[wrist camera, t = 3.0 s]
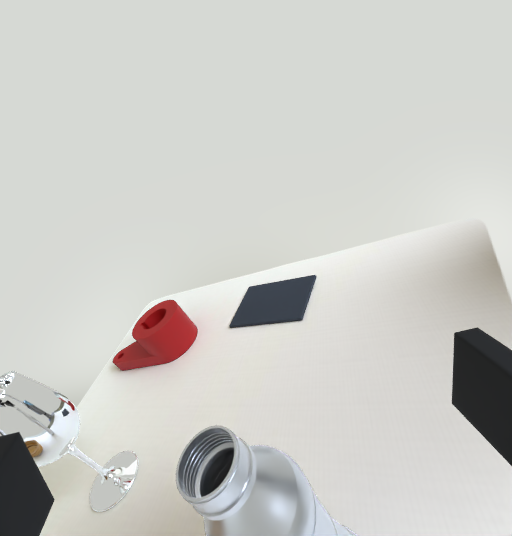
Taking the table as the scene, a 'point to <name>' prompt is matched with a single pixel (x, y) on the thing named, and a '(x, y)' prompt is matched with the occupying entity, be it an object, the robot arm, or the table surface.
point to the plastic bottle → (250, 489)
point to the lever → (158, 337)
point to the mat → (274, 302)
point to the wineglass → (59, 435)
